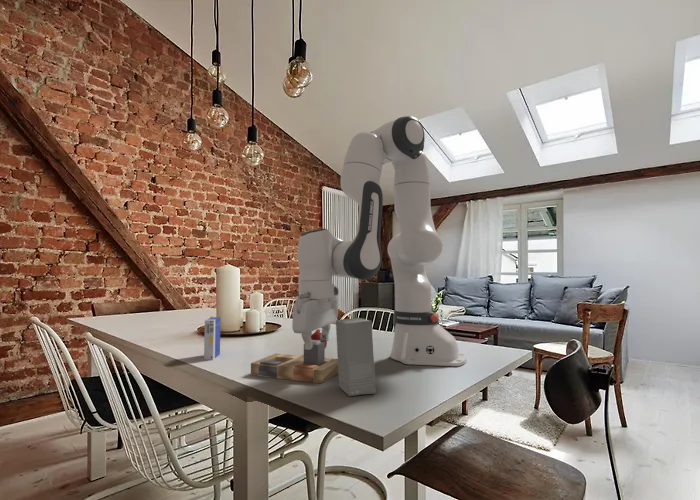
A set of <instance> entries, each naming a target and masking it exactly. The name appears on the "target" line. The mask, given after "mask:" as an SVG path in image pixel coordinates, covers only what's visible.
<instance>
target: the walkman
mask: <svg viewBox="0 0 700 500" xmlns="http://www.w3.org/2000/svg"><path fill="white" fill-rule="evenodd" d="M221 318H222V317H221V316H220V317H219V316H213V315H212V316H210V317H209V318H207V319H204V339H203V340H204V341H203V343H204V344H203V345H204V347H203V360H205V361H209V360H210V361H212V360H213V361H214V360H215V359H216V358H217V357H218V356H220V355H221V354H220V353H221Z"/></svg>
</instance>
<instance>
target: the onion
mask: <svg viewBox="0 0 700 500" xmlns="http://www.w3.org/2000/svg"><path fill="white" fill-rule="evenodd" d="M321 334H322V332H321V330H320V328H318V329H316V330H315V332H313V333H312V335H311V339H312V340H320V339H321V338H320V335H321ZM320 342H321V341H320ZM327 345H328V341H327V342H325V349H326V348H327Z"/></svg>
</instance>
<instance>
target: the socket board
mask: <svg viewBox="0 0 700 500" xmlns="http://www.w3.org/2000/svg"><path fill="white" fill-rule="evenodd" d="M336 374H338V358H329V357H328V358H327V357H324V364H323V365H321V366H317V365H310V364H304V355H297V354H286V353H273V354H271V355H268V356H265V357H263V358H260V359H258V360H256V361H253V362H251V363H250V376H255V375H256V376H255V377H263V376H264V377H265V378H273V379H280V380H281V379H283V380H291V381H299V382H310V383H315V384H324V383H325V382H326V381H328V380H329V379H331V378H332V377H334V376H335V375H336Z"/></svg>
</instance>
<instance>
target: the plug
mask: <svg viewBox="0 0 700 500" xmlns="http://www.w3.org/2000/svg"><path fill="white" fill-rule="evenodd" d="M312 341H313V346H314V347H313V348H312V349H311V350H306V349H305V347H304V346H303V356H304V364H310V365H317V366H321V365H323V364H324V358H325V353H326V352H325V349H326V348H325V342H320V340H312Z"/></svg>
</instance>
